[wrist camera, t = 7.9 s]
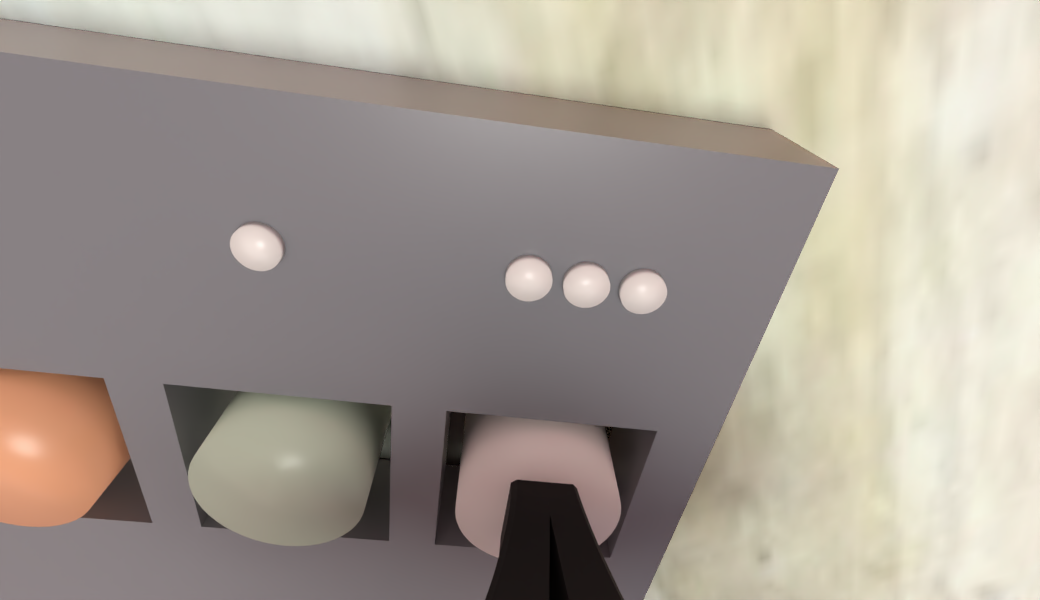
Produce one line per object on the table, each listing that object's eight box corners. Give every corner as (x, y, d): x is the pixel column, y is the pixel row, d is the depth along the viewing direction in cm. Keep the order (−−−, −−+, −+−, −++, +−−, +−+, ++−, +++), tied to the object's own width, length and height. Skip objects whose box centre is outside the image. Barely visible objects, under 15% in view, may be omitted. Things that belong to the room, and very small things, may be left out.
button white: (615, 370, 13) (639, 464, 11) (586, 469, 15) (601, 569, 13) (472, 356, 13) (461, 448, 11) (460, 458, 15) (449, 557, 12)
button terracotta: (158, 323, 13) (66, 412, 10) (186, 433, 14) (114, 533, 12) (-6, 306, 12) (-144, 393, 10) (44, 421, 14) (-61, 520, 12)
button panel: (772, 129, 10) (845, 172, 8) (598, 594, 19) (610, 681, 16) (-244, -17, 9) (-506, -15, 7) (51, 555, 17) (-20, 645, 15)
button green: (394, 347, 13) (365, 439, 10) (392, 452, 15) (366, 551, 12) (241, 331, 13) (172, 421, 10) (259, 440, 14) (203, 539, 12)
